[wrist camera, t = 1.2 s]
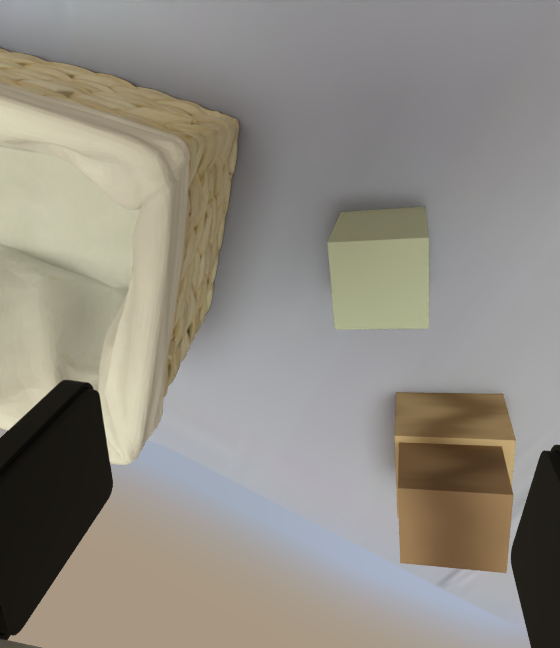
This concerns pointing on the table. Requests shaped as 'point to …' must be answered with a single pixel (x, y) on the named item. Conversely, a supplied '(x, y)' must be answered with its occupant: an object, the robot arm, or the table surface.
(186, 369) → the table surface
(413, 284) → the sage block
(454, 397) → the oak block
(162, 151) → the storage basket
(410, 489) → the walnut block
